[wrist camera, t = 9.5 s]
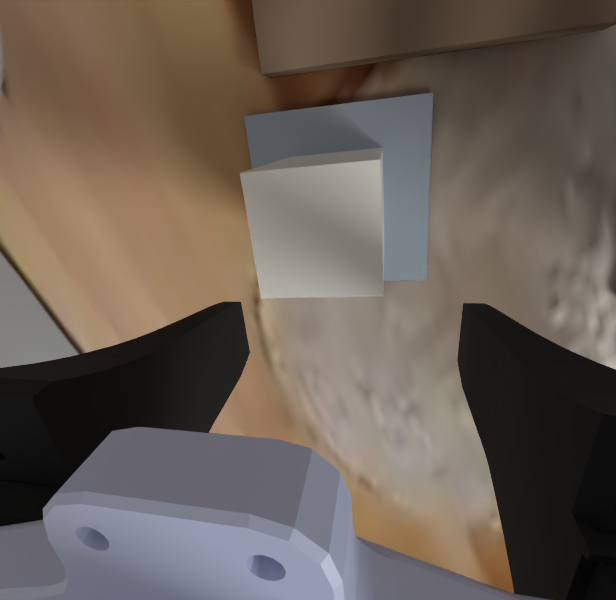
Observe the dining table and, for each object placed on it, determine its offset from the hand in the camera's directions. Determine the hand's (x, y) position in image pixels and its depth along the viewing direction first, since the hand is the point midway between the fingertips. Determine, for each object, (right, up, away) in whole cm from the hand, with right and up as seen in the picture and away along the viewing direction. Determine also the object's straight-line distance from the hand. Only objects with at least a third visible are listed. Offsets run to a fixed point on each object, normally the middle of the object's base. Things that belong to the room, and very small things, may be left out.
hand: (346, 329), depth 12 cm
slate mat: (0, +6, +7) cm, 10 cm away
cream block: (0, +6, +7) cm, 9 cm away
